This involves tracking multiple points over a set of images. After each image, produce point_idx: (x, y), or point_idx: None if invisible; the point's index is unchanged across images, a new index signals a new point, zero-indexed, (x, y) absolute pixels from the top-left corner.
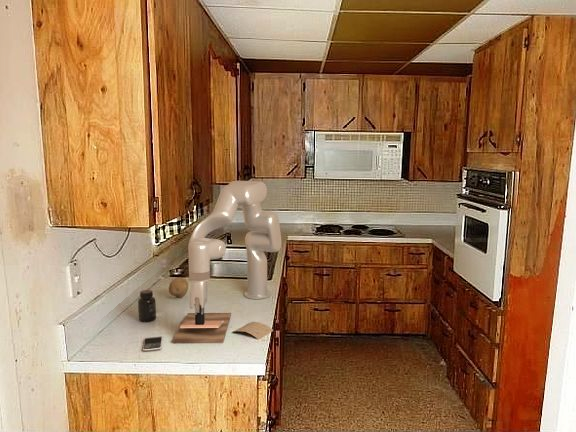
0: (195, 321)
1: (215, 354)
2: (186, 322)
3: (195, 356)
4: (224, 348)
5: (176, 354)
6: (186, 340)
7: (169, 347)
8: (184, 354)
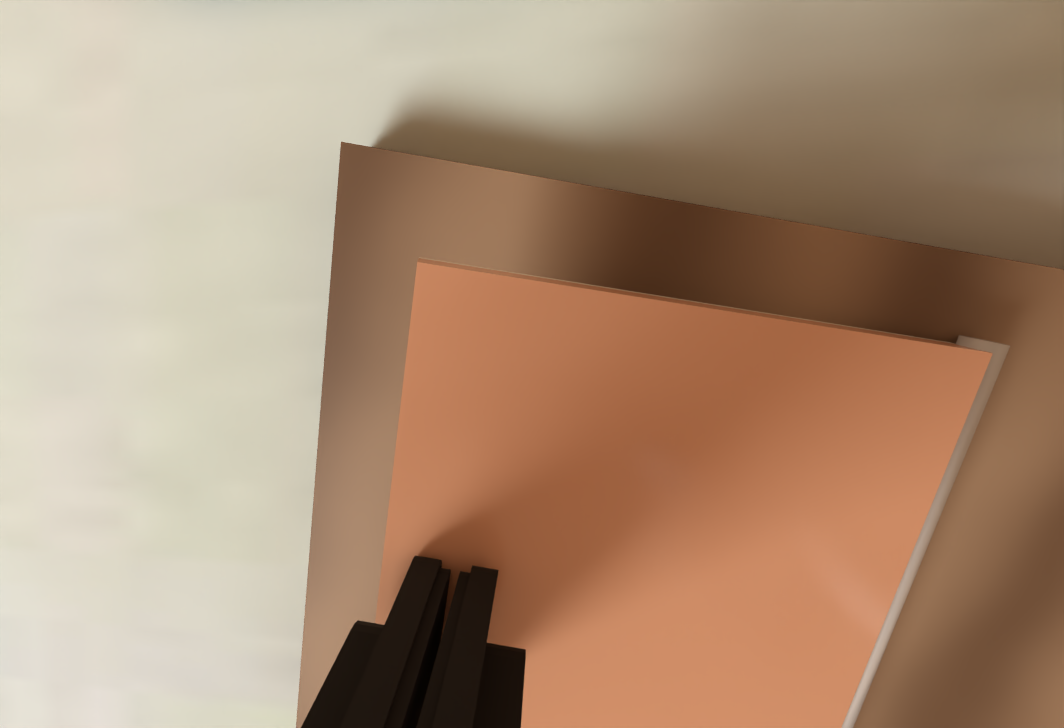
0: (395, 600)
1: (68, 615)
2: (788, 359)
3: (16, 430)
4: (195, 701)
5: (54, 217)
6: (331, 338)
7: (249, 106)
8: (57, 312)
